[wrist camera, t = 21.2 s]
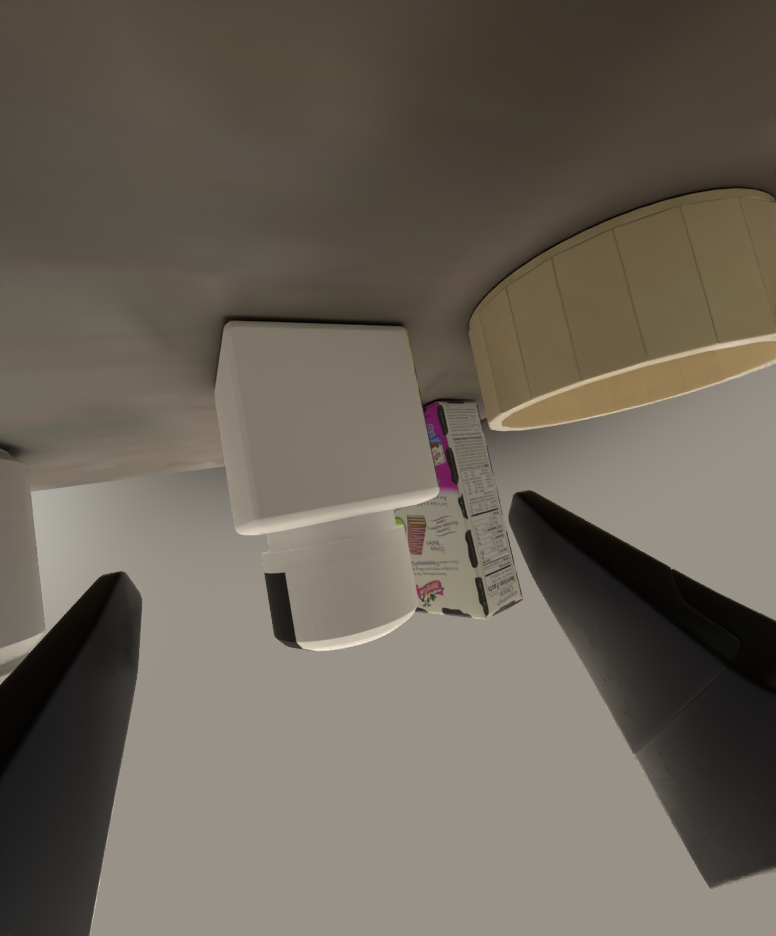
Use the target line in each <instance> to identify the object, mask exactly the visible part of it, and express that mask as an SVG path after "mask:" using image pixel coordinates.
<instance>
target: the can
mask: <svg viewBox="0 0 776 936" xmlns="http://www.w3.org/2000/svg"><path fill="white" fill-rule="evenodd" d="M43 613H44V612H43V603H42V594H41V585H40V576H39V566H38V558H37V548H36V538H35V529H34V521H33V510H32V501H31V492H30V482H29V473H28V465H26V464H24V463H23V462H21V461H19V460H17V459H16V458H14V457H12V456H10V455H9V453H8V452H7V451H5V450H2V449H0V679H2V678H4V677H7V676H9V675H10V674H11V673H12V672H13V670H14V669H15V668H16V667H17V666H18V665H19V664H20V663H21V662H22V661H23V660H24V659H25V657H26V656H27V655H28V654H29V651H30V650H31V648H32V647H33V646H34V645H35V643H36V642H37V641H38V640H39V638H40V637H41V636H42V634H43V633H44V632H45V622H44V614H43Z"/></svg>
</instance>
